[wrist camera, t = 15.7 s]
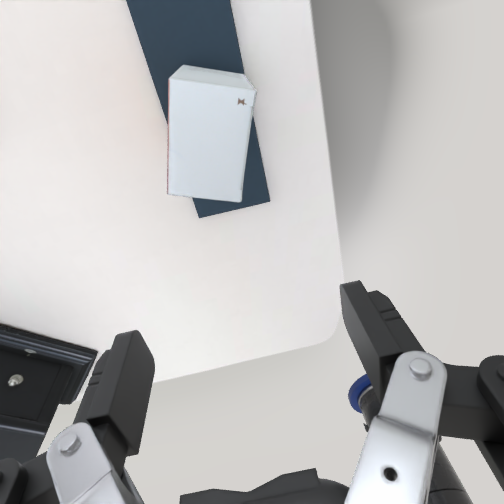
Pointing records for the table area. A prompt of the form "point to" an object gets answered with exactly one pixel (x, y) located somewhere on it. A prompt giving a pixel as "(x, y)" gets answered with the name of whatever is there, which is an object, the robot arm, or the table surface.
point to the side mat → (199, 55)
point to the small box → (208, 132)
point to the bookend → (35, 387)
